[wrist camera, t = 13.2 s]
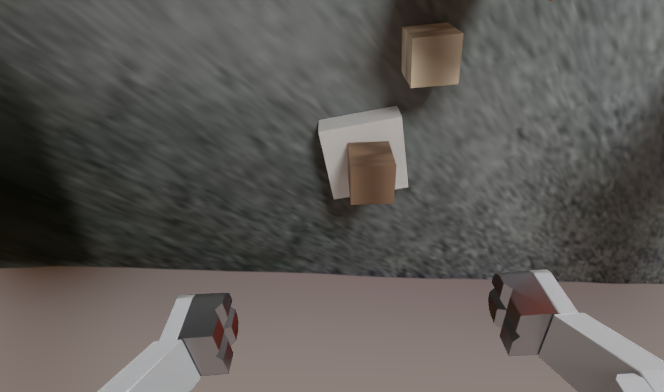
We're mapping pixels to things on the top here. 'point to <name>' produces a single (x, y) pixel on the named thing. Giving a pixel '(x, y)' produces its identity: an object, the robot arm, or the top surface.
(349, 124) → the stone slab
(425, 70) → the beech block
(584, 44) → the top surface
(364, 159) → the walnut block
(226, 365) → the robot arm
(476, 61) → the top surface
